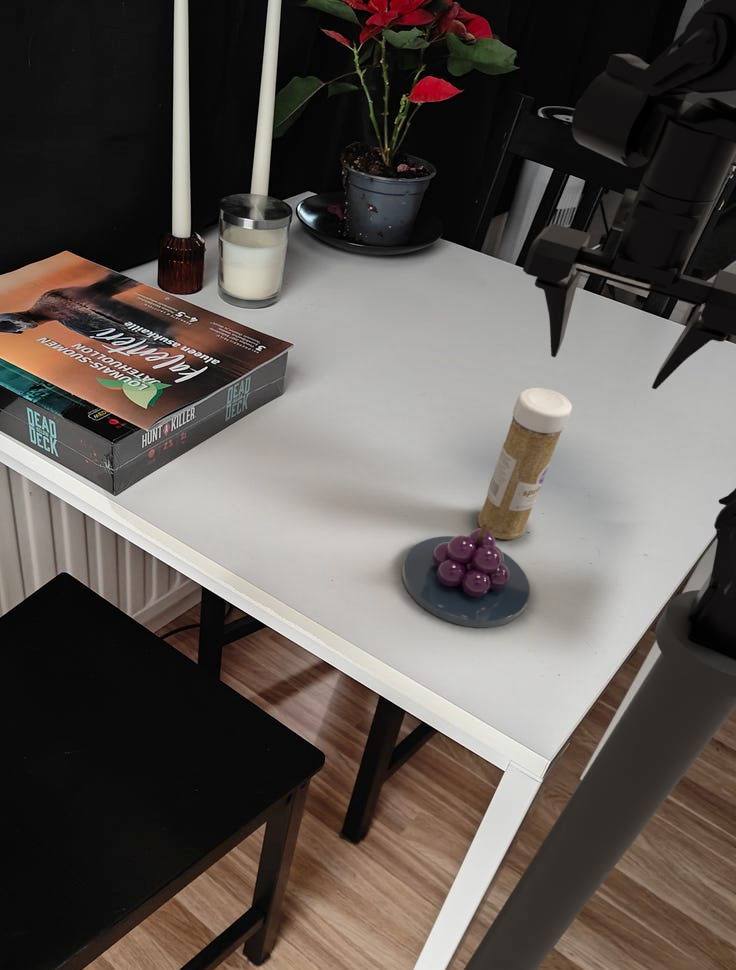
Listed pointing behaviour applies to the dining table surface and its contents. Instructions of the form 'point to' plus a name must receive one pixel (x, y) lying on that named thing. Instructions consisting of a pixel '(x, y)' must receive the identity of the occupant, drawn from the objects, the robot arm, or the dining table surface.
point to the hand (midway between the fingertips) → (603, 370)
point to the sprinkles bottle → (524, 461)
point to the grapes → (466, 579)
